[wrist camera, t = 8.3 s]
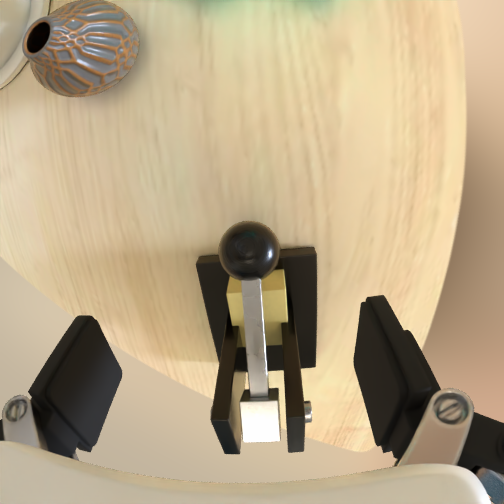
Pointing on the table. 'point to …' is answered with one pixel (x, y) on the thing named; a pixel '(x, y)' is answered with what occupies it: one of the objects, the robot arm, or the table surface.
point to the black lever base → (278, 356)
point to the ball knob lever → (254, 323)
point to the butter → (271, 304)
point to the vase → (82, 47)
